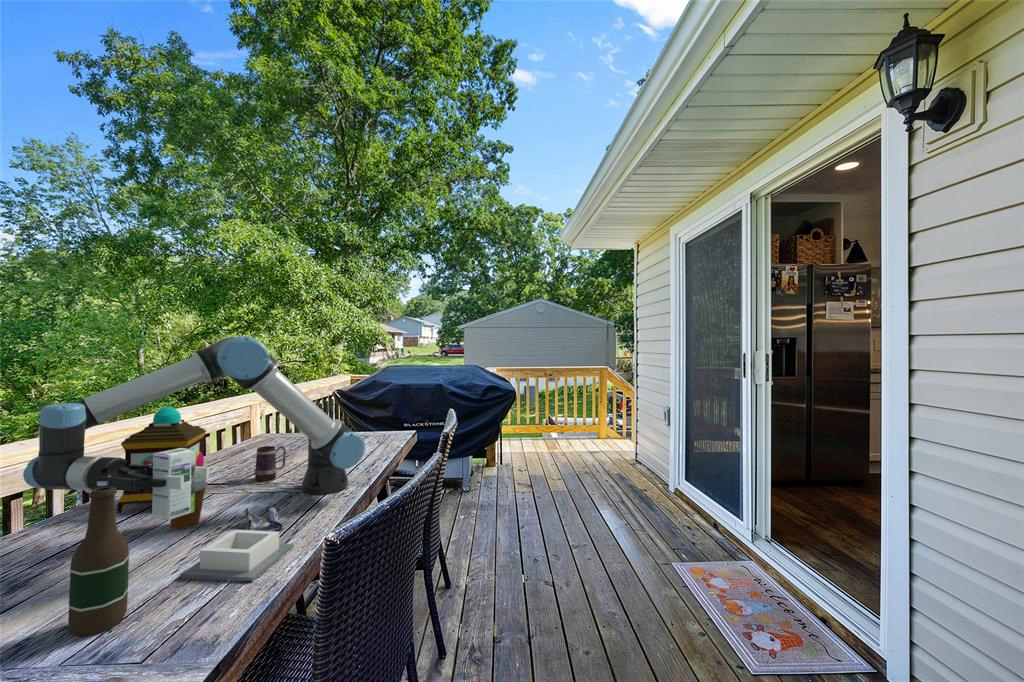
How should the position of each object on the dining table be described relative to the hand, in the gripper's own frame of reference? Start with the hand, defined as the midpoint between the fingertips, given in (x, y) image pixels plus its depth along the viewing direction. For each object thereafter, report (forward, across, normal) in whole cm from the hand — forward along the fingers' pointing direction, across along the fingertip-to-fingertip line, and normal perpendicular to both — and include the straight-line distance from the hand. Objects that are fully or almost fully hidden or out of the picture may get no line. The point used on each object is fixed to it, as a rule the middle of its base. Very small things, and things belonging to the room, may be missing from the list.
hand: (195, 477), depth 102 cm
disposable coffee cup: (-19, -21, -20) cm, 35 cm away
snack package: (+3, -22, -20) cm, 30 cm away
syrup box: (-5, 0, -9) cm, 10 cm away
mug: (-22, -64, -20) cm, 71 cm away
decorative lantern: (-39, -37, -20) cm, 57 cm away
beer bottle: (0, +22, -20) cm, 29 cm away
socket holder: (+10, -2, -20) cm, 22 cm away
